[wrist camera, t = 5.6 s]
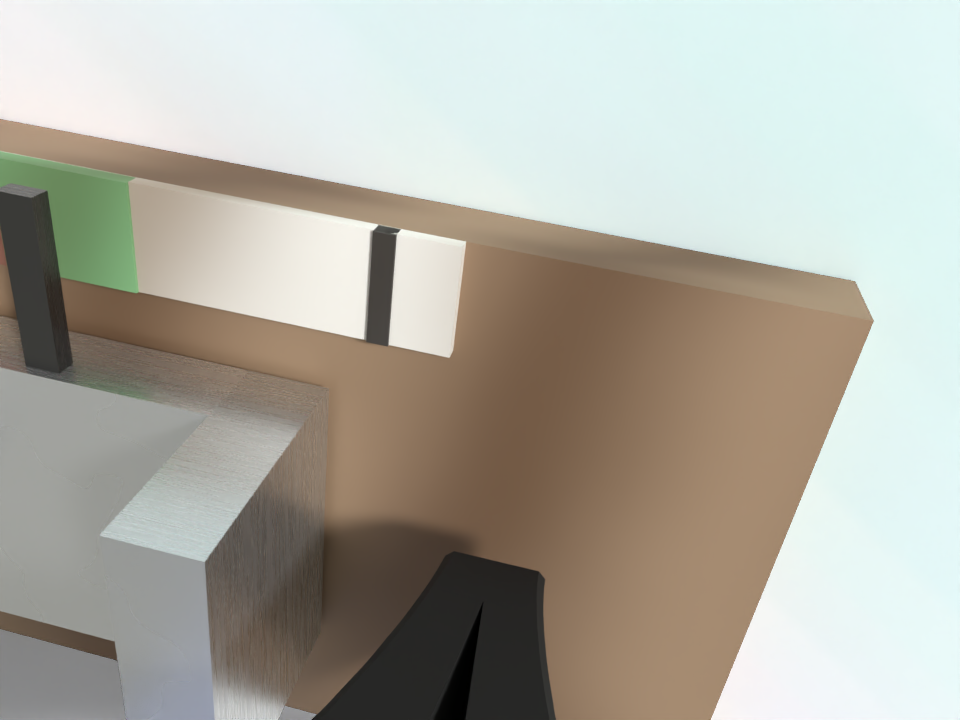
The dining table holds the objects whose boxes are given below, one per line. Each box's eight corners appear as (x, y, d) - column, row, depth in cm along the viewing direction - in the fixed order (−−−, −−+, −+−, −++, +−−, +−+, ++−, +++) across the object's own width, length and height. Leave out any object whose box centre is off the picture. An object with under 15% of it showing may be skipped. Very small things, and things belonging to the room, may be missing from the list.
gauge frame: (855, 281, 11) (1015, 621, 6) (674, 751, 16) (672, 1157, 11) (-429, 38, 13) (-1132, 124, 8) (-233, 514, 18) (-590, 755, 13)
